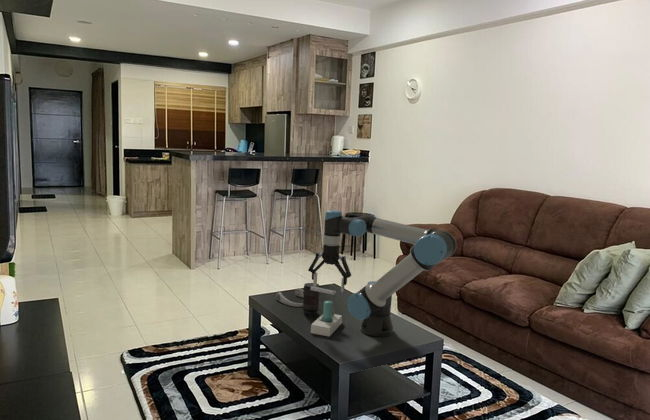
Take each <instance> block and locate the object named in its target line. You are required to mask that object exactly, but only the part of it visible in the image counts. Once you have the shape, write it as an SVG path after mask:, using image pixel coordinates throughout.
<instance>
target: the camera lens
mask: <svg viewBox="0 0 650 420" xmlns="http://www.w3.org/2000/svg"><path fill="white" fill-rule="evenodd" d="M311 286H313V282H306V283H304V286H303V291H304V292H303V295H304V298H303V299H302V303H303V307H302V310H303V314H304V315H305V316H311V317H312V316H316V315H317V314H318V312H319V301H320V293H321V292H318V291H313V290H310V288H311ZM316 287H318V288H321V287H320V284H319V283H317V286H316Z"/></svg>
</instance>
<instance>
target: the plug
mask: <svg viewBox="0 0 650 420" xmlns="http://www.w3.org/2000/svg"><path fill="white" fill-rule="evenodd" d="M332 304H333V302H332V301H331V300H325V301H324V302H323V313H322V314H323V317H322V320H323V321H325V322H330V323H331V321H332V320H333V317H332Z"/></svg>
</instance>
